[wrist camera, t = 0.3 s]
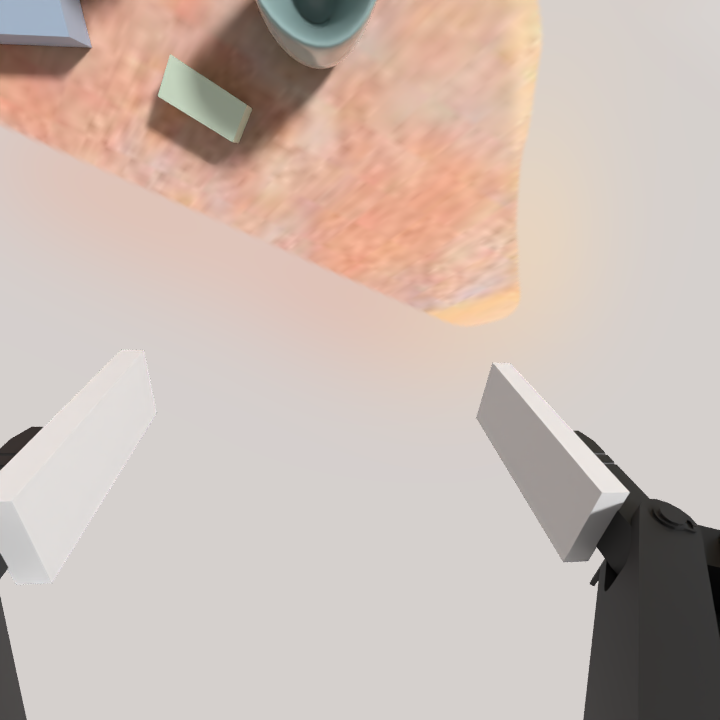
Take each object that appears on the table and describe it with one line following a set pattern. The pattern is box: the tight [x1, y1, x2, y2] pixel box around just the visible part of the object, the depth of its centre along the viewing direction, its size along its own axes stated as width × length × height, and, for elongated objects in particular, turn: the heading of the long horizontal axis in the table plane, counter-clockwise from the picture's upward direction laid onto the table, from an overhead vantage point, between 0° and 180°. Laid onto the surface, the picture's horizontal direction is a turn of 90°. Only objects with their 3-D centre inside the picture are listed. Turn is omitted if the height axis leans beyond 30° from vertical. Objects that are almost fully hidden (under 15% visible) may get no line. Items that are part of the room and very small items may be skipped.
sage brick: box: [158, 55, 252, 143], centre depth 31 cm, size 6×3×3 cm, turn 59°
